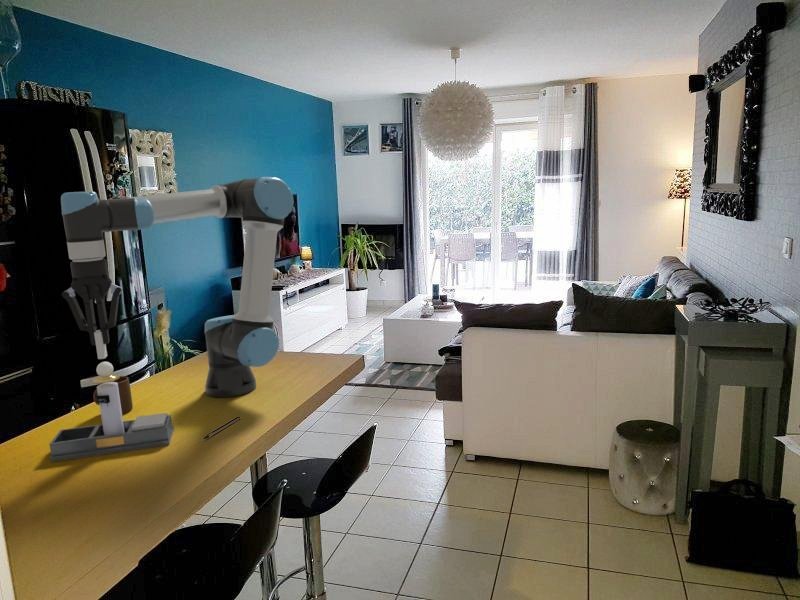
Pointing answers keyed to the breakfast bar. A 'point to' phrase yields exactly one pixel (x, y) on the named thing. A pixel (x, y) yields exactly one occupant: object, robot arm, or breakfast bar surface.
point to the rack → (112, 438)
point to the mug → (122, 394)
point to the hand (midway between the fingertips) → (102, 357)
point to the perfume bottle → (109, 399)
